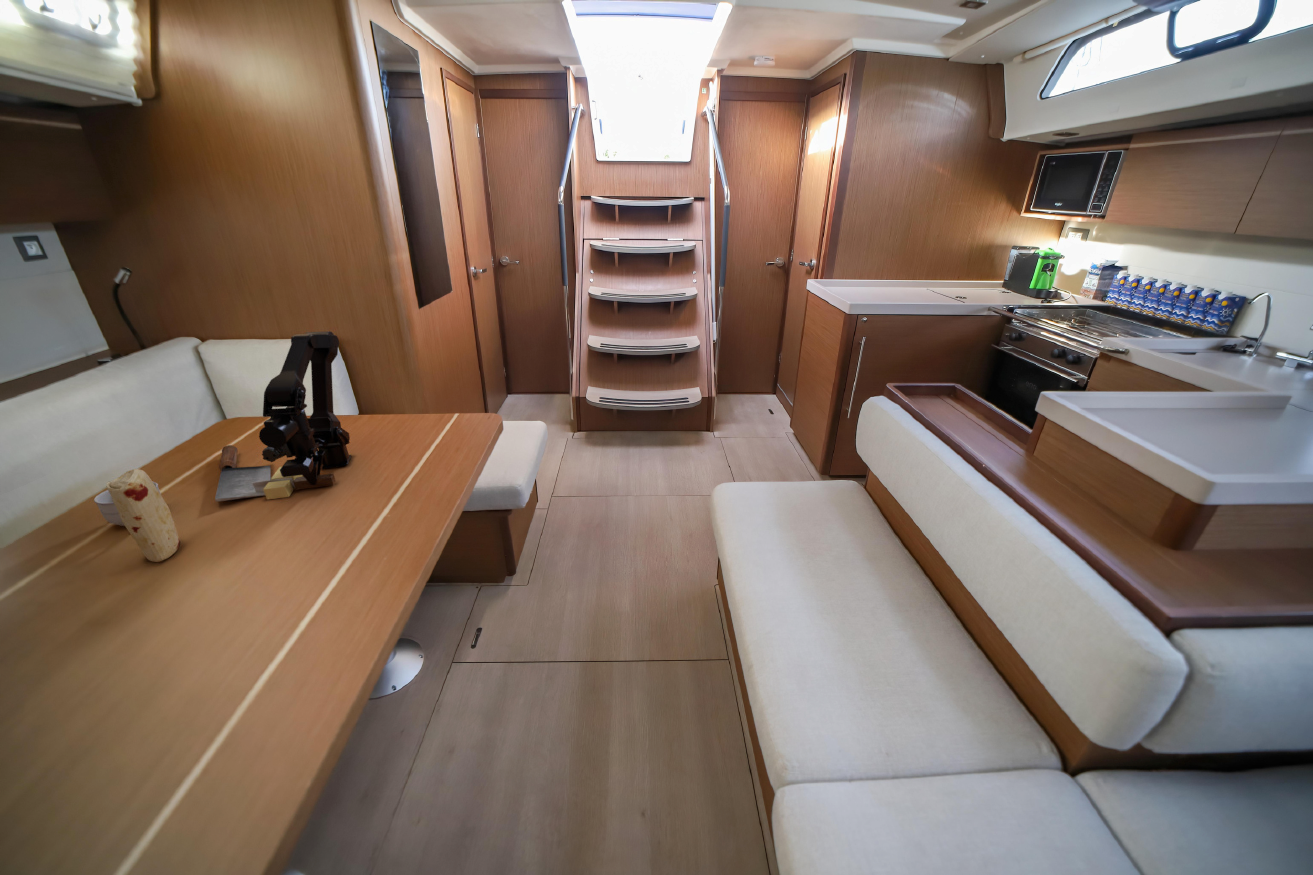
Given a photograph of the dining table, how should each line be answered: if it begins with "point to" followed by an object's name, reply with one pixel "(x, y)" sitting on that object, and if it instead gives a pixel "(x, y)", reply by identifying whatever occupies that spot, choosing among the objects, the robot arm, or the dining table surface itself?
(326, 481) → the knife
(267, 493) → the butter slice
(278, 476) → the butter block
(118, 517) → the teacup
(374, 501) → the dining table surface
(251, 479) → the meat cleaver
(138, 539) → the food model
